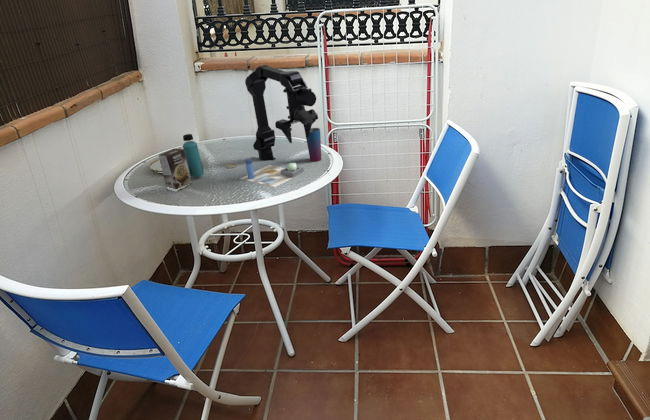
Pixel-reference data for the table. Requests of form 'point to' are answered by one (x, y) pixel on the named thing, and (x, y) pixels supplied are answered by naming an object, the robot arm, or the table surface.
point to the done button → (291, 167)
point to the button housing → (292, 174)
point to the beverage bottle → (192, 156)
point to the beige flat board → (269, 176)
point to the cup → (314, 144)
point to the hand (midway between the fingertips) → (299, 140)
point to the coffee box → (175, 168)
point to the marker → (249, 168)
